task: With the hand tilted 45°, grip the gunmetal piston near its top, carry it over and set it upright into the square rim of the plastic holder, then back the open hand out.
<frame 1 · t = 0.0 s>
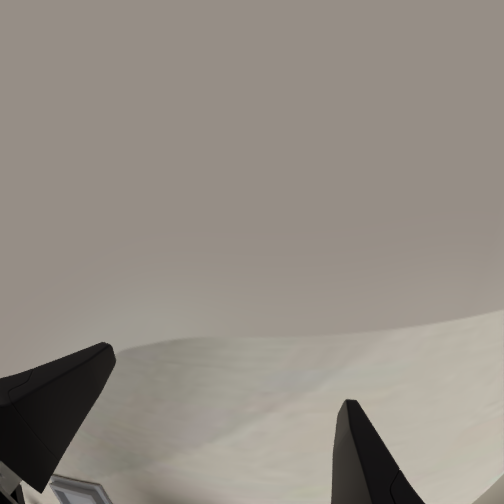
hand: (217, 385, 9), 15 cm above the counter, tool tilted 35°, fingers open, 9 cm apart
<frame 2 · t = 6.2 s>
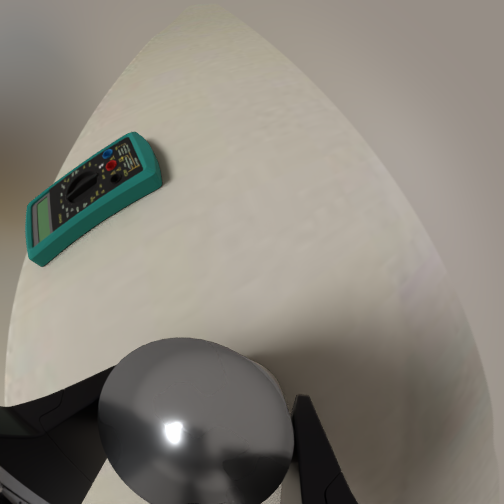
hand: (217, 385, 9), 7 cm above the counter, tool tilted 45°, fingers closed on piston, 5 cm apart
piston: (237, 401, 15), on the counter, touching gripper
digital multimeter: (92, 205, 23), on the counter
when the fingers open (8 cm above the counter, at t = 10.6 s): piston stays where it is, resting on holder.
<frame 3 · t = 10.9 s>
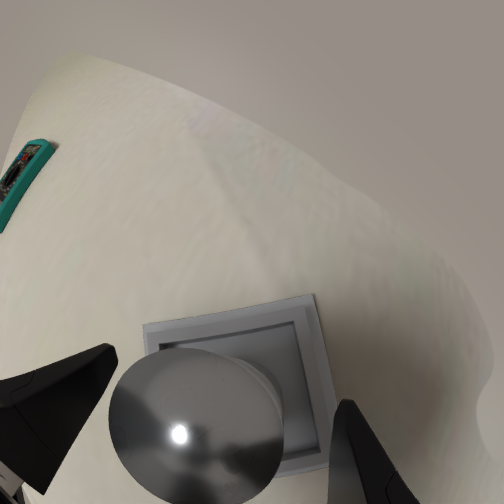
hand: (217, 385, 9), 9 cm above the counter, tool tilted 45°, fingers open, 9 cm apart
piston: (238, 401, 16), point 1 cm above the counter, touching holder
holder: (240, 399, 16), on the counter
digital multimeter: (20, 188, 28), on the counter
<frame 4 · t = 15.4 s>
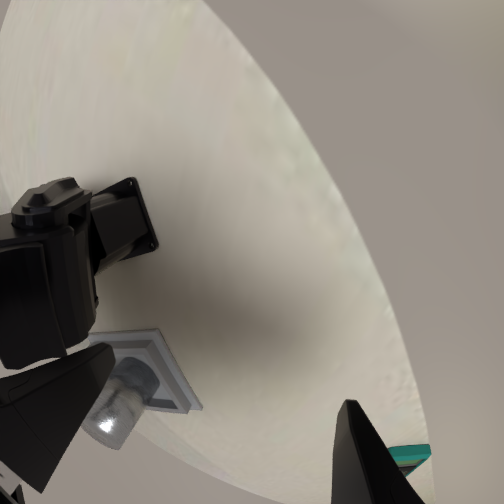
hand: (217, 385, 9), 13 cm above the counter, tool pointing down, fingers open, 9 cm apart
piston: (139, 374, 29), point 1 cm above the counter, touching holder
holder: (141, 372, 29), on the counter
digital multimeter: (389, 463, 29), on the counter
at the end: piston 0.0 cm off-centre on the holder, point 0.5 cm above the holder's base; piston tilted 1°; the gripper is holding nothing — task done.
